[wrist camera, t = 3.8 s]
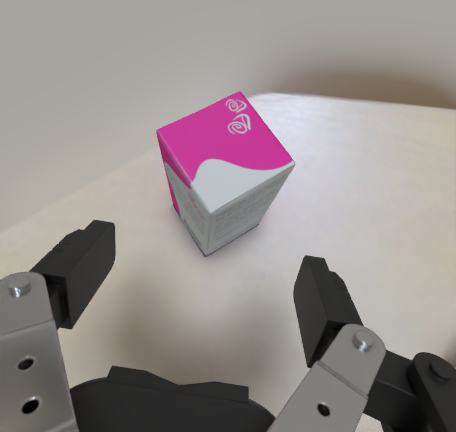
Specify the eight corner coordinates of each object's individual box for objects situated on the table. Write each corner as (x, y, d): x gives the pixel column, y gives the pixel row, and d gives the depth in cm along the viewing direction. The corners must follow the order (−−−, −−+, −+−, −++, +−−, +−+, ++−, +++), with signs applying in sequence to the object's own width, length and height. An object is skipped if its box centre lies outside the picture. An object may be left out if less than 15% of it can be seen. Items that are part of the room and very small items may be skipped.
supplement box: (261, 223, 27) (300, 164, 16) (204, 258, 26) (205, 220, 15) (226, 173, 28) (241, 86, 17) (171, 203, 27) (148, 130, 16)
